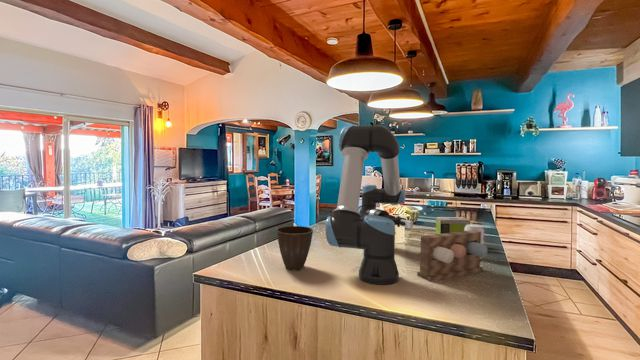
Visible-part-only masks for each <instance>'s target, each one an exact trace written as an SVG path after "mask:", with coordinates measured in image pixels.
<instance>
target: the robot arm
mask: <svg viewBox="0 0 640 360" xmlns="http://www.w3.org/2000/svg"><path fill="white" fill-rule="evenodd" d="M338 137H339V138H338V148H339V149H338V150H339V151H340V152H341V155H342V156H343V165H342V171H341V179H340V185H339V191H338V197H337V203H336V204H337V206H336V208H334V209H333V210H332V213H331V215H329V216H327V217H326V220H325V222H324V223H325V227H324V230H325V237H326V241H327V243H328V244H329V245H330V246H331V247H336V248H340V249H341V248H344V249H345V248H347V249H355V250H363V257H362V260H361V264H360V267H359V269H358V279H360V280H361V281H362V282H365V283H369V284H372V285H391V284H395V283H397V282H398V281H400V280H399V279H400V272H399V269H398V265H397V262H396V258H395V257H396V256H395V252H396V251H395V250H396V249H395V247H396V246H395V245H396V244H395V243H396V242H395V241H396V234H397V233H396V226H397V227H398V228H401V227H405V228H409V229H413V227H414V226H413V225H414V221H412V220H411V221H410V220H407V218H405V217H401V216H400V215H398V216H395V215H392V214H390V213H389V212H388V211H387V210H384V209H379V208H377V204H385V205H386V204H388V205H404V204H405V203H406V190H405V189H401V180H400V169H399V157H398V156H399V154H400V144H399V141H398V139H397V138H396V135H395V134H394V133H393V132H392V131H391V130H390V129H389V128H387V127H385V126H383V125H380V124H373V125H371V124H370V125H355V124H354V125H346V126H344V127H343V128H342V129H341V130H340V133H339V136H338ZM369 153H377V156H378V157H379V158H380V162H381V172H382V177H383V184H384V188H377V185H375V184H363V185H362V181H363V174H364V173H363V171H364V165H365V164H364V163H365V160H367V159H368V157H369ZM360 196H361V206H360V204H359V203H360ZM359 206H360V207H359ZM400 226H401V227H400Z"/></svg>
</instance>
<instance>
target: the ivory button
mask: <svg viewBox="0 0 640 360" xmlns="http://www.w3.org/2000/svg"><path fill="white" fill-rule="evenodd" d="M432 258H435V259H437V260H440V261H443V262H446V263H450V262H451V261H452V260H453V258H454V253H453V251H452V250H450V249H447V248H443V247H440V246H433V254H432Z"/></svg>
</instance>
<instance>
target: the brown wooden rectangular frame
mask: <svg viewBox="0 0 640 360" xmlns="http://www.w3.org/2000/svg"><path fill="white" fill-rule="evenodd" d="M467 241H473V242H476V243H480V244H481V232H479V231H475V230H469V231H460V232H452V233H443V234H436V233H435V234H428V235H421V236H420V255H419V258H420V259H419V271H417V272H416V273H417V274H416V276H417V277H419V278H421V279H423V280H426V281H427V282H429V283H430V282H436V281H441V280H446V279H451V278H452V279H453V278H456V277H463V276H467V275H471V274H476V273H477V274H478V273H482V272H483V270H484V269H483V268H484V267H481V265H480V263H481V259H480V257H479V256H476V255H473V254H469V253H467ZM453 243H455V244H459V245H462V246H464V247H465V249H466V253H465V256H464V257H463V258H457V257H454V258H453V260H452V261H451V262H450V263H446V262H443V261H440V260H437V259H435V258H432V254H433V246H440V247H443V248H447V249H450V244H453Z"/></svg>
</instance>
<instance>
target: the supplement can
mask: <svg viewBox="0 0 640 360" xmlns="http://www.w3.org/2000/svg"><path fill="white" fill-rule="evenodd" d="M469 230H475V231H479V232H481V244H484V245H485V243H484V242H485V241H484V240H485V228H484V226H483V225H481V224H475V223H474V224H471V223H470V224H467V225H466V227H465V229H464V231H469ZM483 258H484V257H480V260H482V259H483Z"/></svg>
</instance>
